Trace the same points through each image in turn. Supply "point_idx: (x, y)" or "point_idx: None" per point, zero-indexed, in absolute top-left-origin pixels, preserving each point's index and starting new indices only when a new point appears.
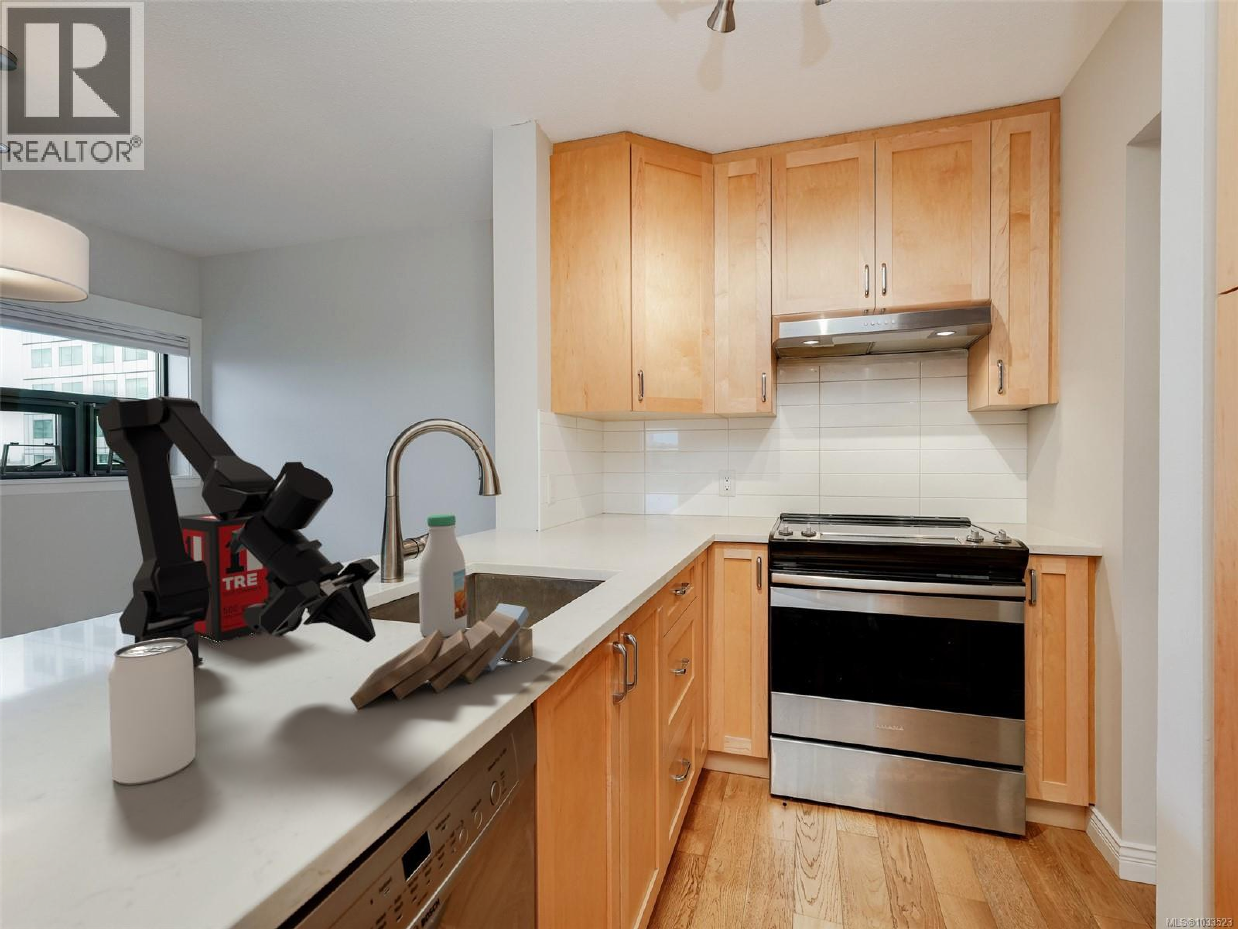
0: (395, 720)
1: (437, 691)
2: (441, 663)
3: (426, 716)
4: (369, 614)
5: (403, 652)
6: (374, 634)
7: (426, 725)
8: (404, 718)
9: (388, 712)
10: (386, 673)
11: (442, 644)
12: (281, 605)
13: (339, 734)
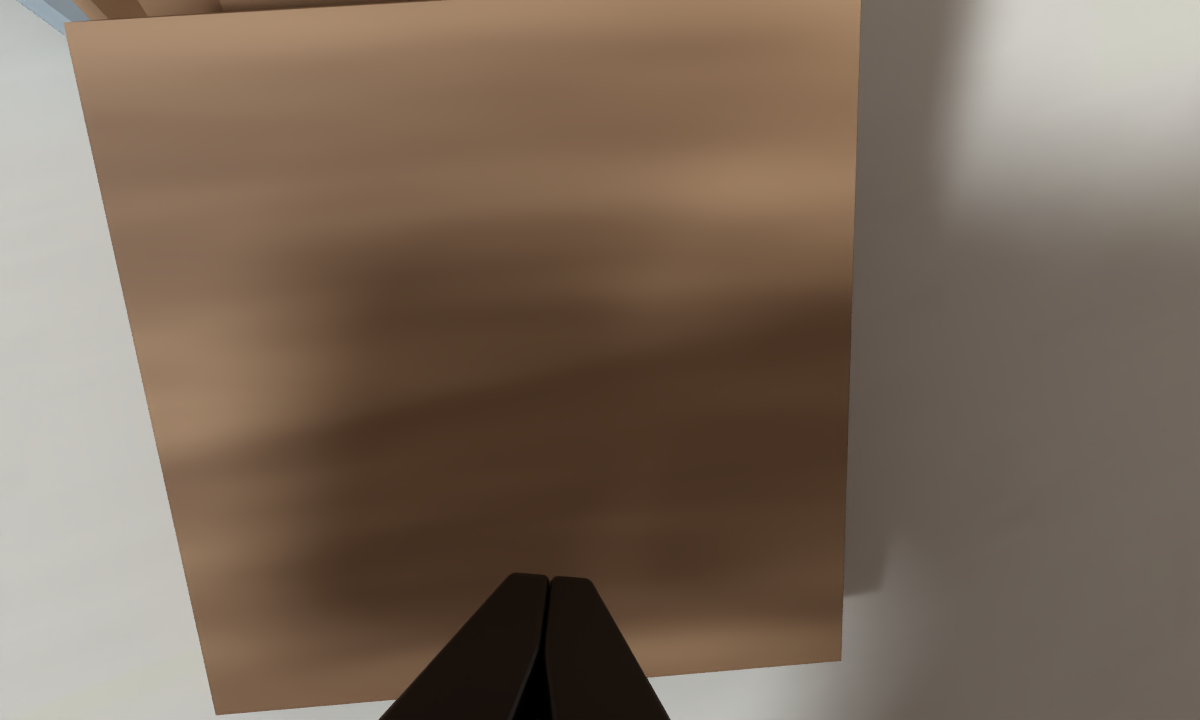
0: (969, 283)
1: None
2: None
3: (910, 115)
4: (395, 717)
5: (217, 425)
6: (537, 580)
7: (1029, 81)
8: (940, 237)
9: (854, 369)
10: (764, 390)
11: (294, 3)
12: None
13: (1169, 561)
